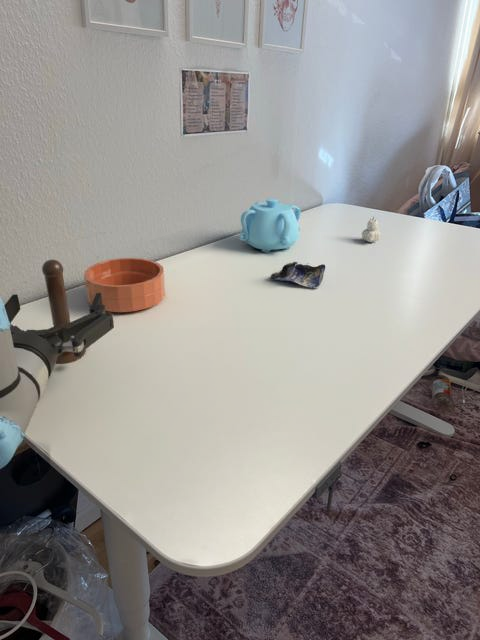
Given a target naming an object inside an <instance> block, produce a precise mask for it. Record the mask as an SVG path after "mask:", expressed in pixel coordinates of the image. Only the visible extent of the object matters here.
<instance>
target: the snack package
mask: <svg viewBox="0 0 480 640" xmlns="http://www.w3.org/2000/svg"><path fill="white" fill-rule="evenodd" d="M325 270H326V265H325V264H319V265H317V266H311V265H309V264H302V263H299V262H298V261H292V262H288V263H286V264H284V265H283V266H282V268H281V270H279V271H278V272H274V273H271V274H270V280H272V281H273V280H275V281H276V280H277V281H281V282H282V281H283V282H293V283H296V284H298V285H301V286H302V287H306V288H315V289H317V290H318V289H319V287H320V286H321V284H322V282H323V279H324V274H325Z"/></svg>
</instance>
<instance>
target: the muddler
mask: <svg viewBox="0 0 480 640" xmlns="http://www.w3.org/2000/svg"><path fill="white" fill-rule="evenodd" d="M41 266H42V267H41V271H42V274H43V276H44V281H45V287H46V292H47V298H48V304H49V309H50V315H51V320H52V325H53V326H52V327H54V326H56V325H62V326H63V325H66V324H68V323H70V322H71V316H70V310H69V305H68V298H67V292H66V287H65V286H66V285H65V280H64V279H65V278H64V274H63V273H64V267H63V264H62V263H61V262H60V261H59V260H57V259H48V260H46V261H45V262H44V263H43V264H42V265H41ZM56 335H57V336H58V333H56ZM85 352H87V349H86V350H85ZM85 352H84V353H83V355H82V356H83V357H84V356H85V355H86V353H85ZM84 354H85V355H84ZM82 356H80V357H75V356H74V353H73V352H63V353H62V354H61V355H59V356H58V357H57V360H56V364H68V363H69V362H70V363H73V362H76V361H78V360H80V359H81V357H82ZM83 357H82V358H83ZM79 358H80V359H79ZM77 359H78V360H77ZM72 361H73V362H72ZM70 363H69V364H70Z"/></svg>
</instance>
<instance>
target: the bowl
mask: <svg viewBox="0 0 480 640" xmlns="http://www.w3.org/2000/svg"><path fill="white" fill-rule="evenodd" d="M83 279H84V286H85V291H86V292H85V293H86V301H87V302H88V303H89V305H90V306H91V305H92V303H93V300H94V298H95V295H96V293H101V296H102V305H105V311H106V312H111V313H132V312H136V311H137V312H138V311H141V310H145V309H149V308H151V307H153V306H156V305H157V304H158V303H160V302H162V301H163V299H164V298H165V296H166V287H165V286H166V285H165V270H164V266H163V265H162V264H160V263H159V262H157V261H155V260H152V259H147V258H141V257H140V258H139V257H120V258H119V257H117V258H113V259H107V260H103V261H100V262H96V263H94V264H92V265H90V266H89V267H88V268H87V269H85V271H84V274H83Z"/></svg>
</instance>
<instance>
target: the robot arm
mask: <svg viewBox="0 0 480 640" xmlns="http://www.w3.org/2000/svg"><path fill="white" fill-rule="evenodd" d="M20 311H21V305H20V300H19V295H18V294H12V295H11V296H10V297H9V299H8V300H7V301H6V302H3V299H2V296H1V295H0V470H1V469H3V468H4V467H6V466H7V465H8V464H9V462H10V461H11V460H12V458H13V457H14V454H15V453H16V451H17V449H18V447H19V446H20V445H21V444H22V442H23V441H24V437H25V434H26V431H27V430H28V427H29V425H30V423H31V420H32V418H33V415H34V413H35V410H36V408H37V405H38V403H39V401H40V399H41V397H42V395H43V392H44V390H45V388H46V386H47V383H48V381H49V379H50V378H51V375H52V373H53V371H54V369H55V366H56V364H57V363H56V360H57V357H58V356H59V355H61V354H62V353H63V352H73V353H74V356H75V357H80V356H82V355H83V353H84V352H85V350H86V351H87V349H88V348H89V347H91V346H92V345H93V344H95V343H96V342H97V341H99V340H100V339H102V338H103V336H105V335H107V334H108V333H109V332H110V331H112V330H113V329H115V325H114V324H115V323H114V314H113V312H110V311H105V305H102V296H101V293H96V295H95V298H94V300H93V303H92V305H90V308H89V313H88V314H86V315H83V316H81V317H79V318H77V319H75V320H72V321H70V323H68V324H66V325H63V326H62V325H56V326H52V327H51V326H50V327H49V328H45V329H44V328H43V329H26V330H24V329H23V330H22V329H21V328H20V327H18V326H17V325H13V324H12V322H13V321H14V319H15V318H16V316H17V315H18V313H20ZM56 333H58V336H57V335H56Z"/></svg>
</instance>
